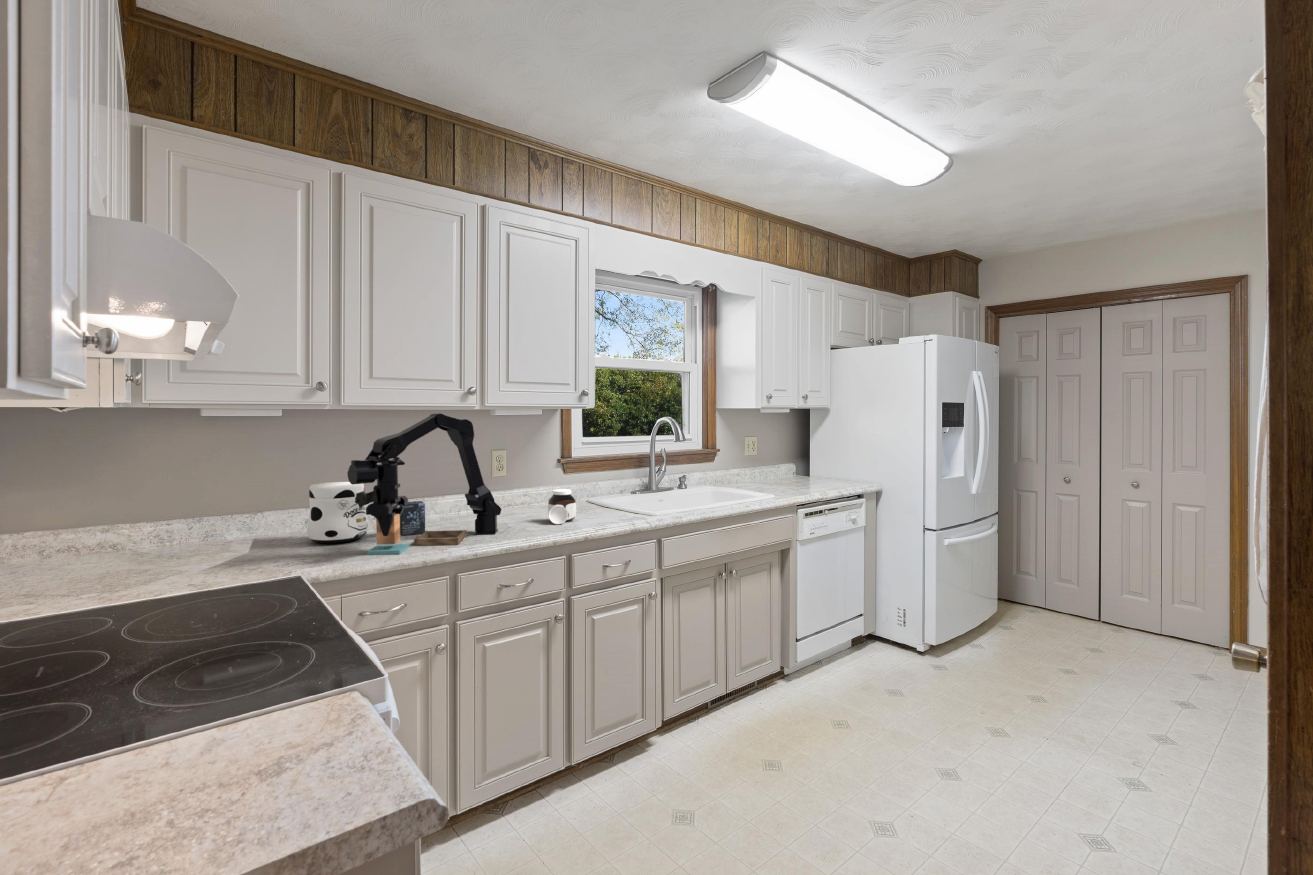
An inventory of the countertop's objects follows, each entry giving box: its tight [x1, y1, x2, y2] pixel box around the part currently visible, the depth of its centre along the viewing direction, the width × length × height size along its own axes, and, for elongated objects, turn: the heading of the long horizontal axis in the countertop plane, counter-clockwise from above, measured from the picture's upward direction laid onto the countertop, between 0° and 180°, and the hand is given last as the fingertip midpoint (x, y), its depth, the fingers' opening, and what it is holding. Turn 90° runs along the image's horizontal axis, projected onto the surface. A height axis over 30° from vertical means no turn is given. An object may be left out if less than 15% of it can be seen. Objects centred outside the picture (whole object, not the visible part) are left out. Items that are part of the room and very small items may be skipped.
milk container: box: [306, 481, 369, 544], centre depth 195 cm, size 17×17×18 cm
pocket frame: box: [413, 529, 468, 547], centre depth 195 cm, size 13×13×2 cm
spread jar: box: [547, 488, 577, 525], centre depth 228 cm, size 12×11×12 cm
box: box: [400, 500, 426, 537], centre depth 207 cm, size 8×6×11 cm
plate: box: [366, 543, 410, 556], centre depth 181 cm, size 9×9×1 cm
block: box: [375, 514, 401, 546], centre depth 181 cm, size 5×5×8 cm
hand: (388, 534), depth 181 cm, fingers closed on block, 5 cm apart
